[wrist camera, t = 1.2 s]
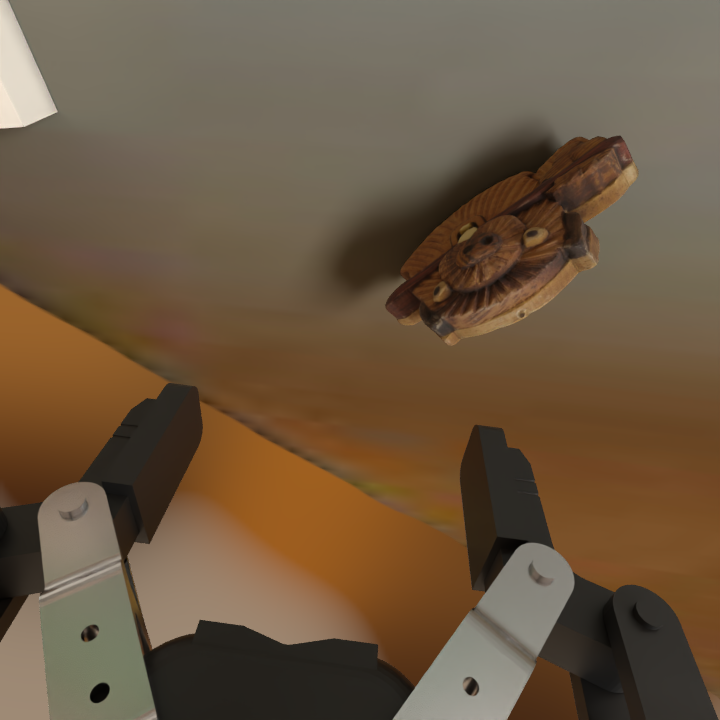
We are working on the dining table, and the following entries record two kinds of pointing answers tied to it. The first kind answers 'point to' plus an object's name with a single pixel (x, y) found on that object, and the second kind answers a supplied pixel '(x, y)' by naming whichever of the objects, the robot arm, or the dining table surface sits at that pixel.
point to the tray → (19, 77)
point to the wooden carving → (513, 243)
